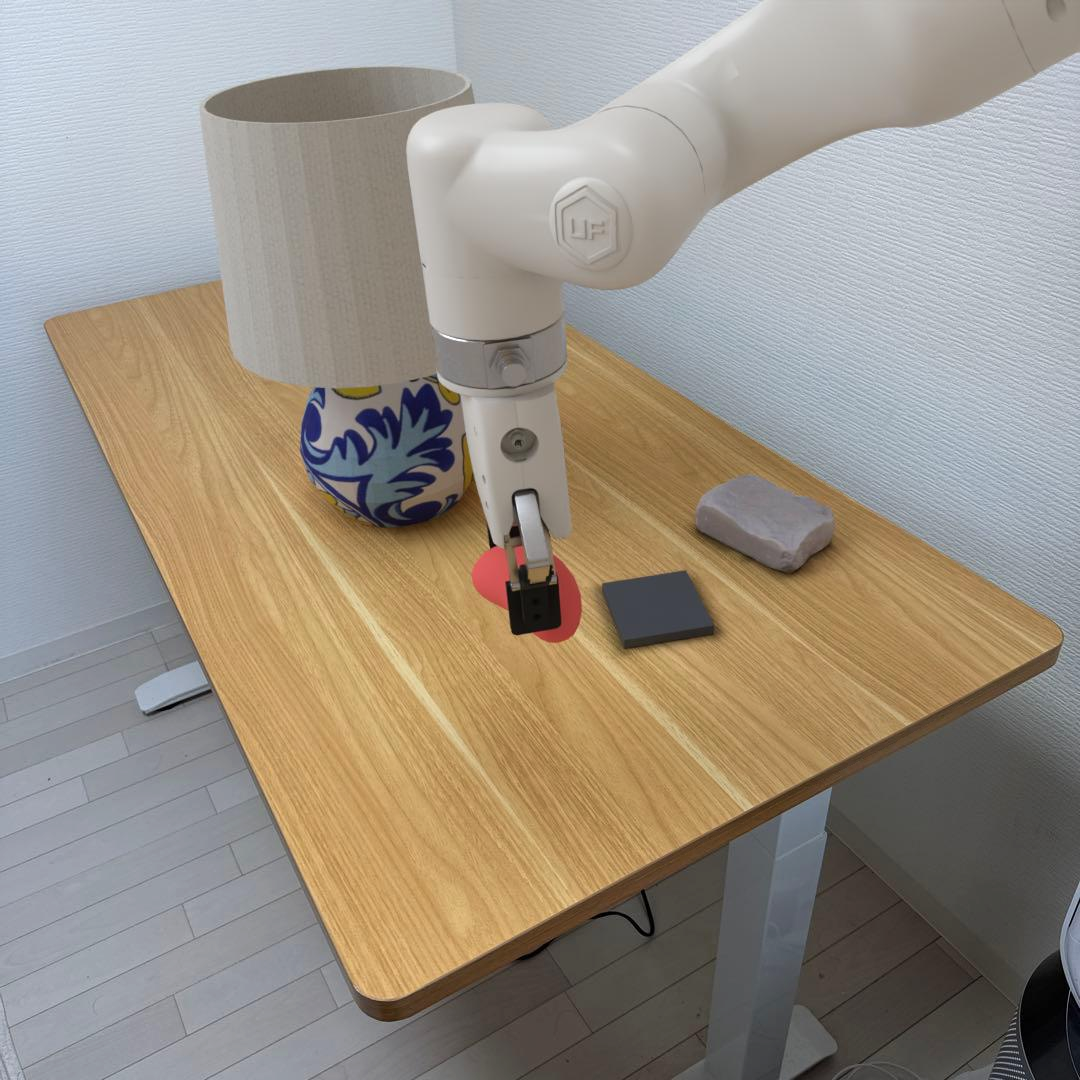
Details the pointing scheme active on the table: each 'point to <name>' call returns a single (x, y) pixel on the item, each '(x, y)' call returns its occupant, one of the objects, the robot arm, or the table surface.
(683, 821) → the table surface
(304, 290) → the table lamp
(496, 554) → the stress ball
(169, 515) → the table surface
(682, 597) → the felt pad
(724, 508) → the stone block
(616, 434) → the table surface
